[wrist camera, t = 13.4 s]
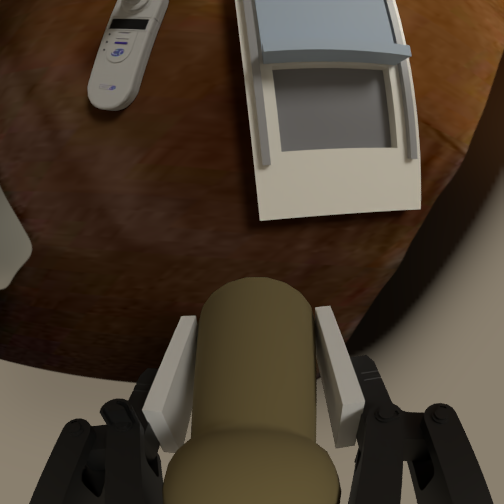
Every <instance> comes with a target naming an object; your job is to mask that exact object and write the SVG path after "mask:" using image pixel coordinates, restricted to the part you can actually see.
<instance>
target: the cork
mask: <svg viewBox="0 0 504 504" xmlns="http://www.w3.org/2000/svg"><path fill="white" fill-rule="evenodd" d="M162 495H163V504H340V497H341V488H340V483H339V478H338V474H337V471H336V468H335V466H334V464H333V462H332V460H331V458H330V456H329V455H328V453H327V451H325V450H324V449H323V448H322V447H320V446H319V445H318V444H316V334H315V319H314V316H313V312H312V309H311V306H310V305H309V303H308V302H307V301H306V299H305V298H304V297H303V296H302V294H301V293H300V292H298V291H297V290H295V289H294V288H292V287H291V286H289V285H288V284H286V283H284V282H281V281H277V280H274V279H270V278H267V277H250V278H243V279H239V280H236V281H233V282H230V283H227V284H225V285H224V286H222V287H221V288H220V289H218V290H217V291H215V292H214V293H212V295H211V296H210V297H209V299H208V300H207V302H206V303H205V304H204V306H203V307H202V311H201V315H200V319H199V325H198V337H197V349H196V362H195V376H194V391H193V407H192V426H191V439H190V440H189V441H187V442H186V443H185V444H184V445H182V446H181V447H180V448H179V449H178V450H177V451H176V453H175V454H174V456H173V457H172V459H171V461H170V462H169V464H168V467H167V471H166V475H165V479H164V483H163V487H162Z"/></svg>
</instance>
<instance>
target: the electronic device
mask: <svg viewBox="0 0 504 504" xmlns="http://www.w3.org/2000/svg"><path fill="white" fill-rule="evenodd" d="M168 2H169V0H117V3H116V5H115V7H114V10H113V12H112V14H111V18H110V20H109V22H108V25H107V28H106V31H105V33H104V36H103V38H102V41H101V44H100V47H99V50H98V53H97V56H96V59H95V63H94V66H93V69H92V73H91V76H90V80H89V83H88V97H89V100H90V102H91V103H92V104H93V105H94V106H95V107H96V108H99V109H103V110H111V111H117V110H121V109H124V108H126V107H127V106H128V105H130V104H131V103H132V102H133V100H134V99H135V97H136V96H137V94H138V91H139V88H140V84H141V81H142V78H143V74H144V71H145V68H146V65H147V61H148V58H149V55H150V52H151V49H152V46H153V44H154V41H155V38H156V35H157V32H158V30H159V27H160V24H161V22H162V19H163V17H164V14H165V12H166V9H167V6H168Z"/></svg>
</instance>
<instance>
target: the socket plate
mask: <svg viewBox="0 0 504 504" xmlns="http://www.w3.org/2000/svg"><path fill="white" fill-rule="evenodd" d="M384 4H385V8H386V12H387V16H388V20H389V24H390V28H391V32H392V37H393V42H394V44H402V45H406V42H405V37H404V33H403V29H402V24H401V20H400V16H399V13H398V9H397V5H396V2H395V0H384ZM235 5H236V13H237V21H238V29H239V37H240V46H241V54H242V62H243V71H244V80H245V88H246V97H247V106H248V115H249V124H250V133H251V142H252V151H253V160H254V169H255V179H256V188H257V198H258V207H259V217H260V221H265V220H275V219H287V218H298V217H310V216H323V215H336V214H350V213H364V212H379V211H395V210H413V209H421V168H420V146H419V132H418V120H417V110H416V102H415V94H414V87H413V80H412V74H411V68H410V62H409V58H407V59H405V60H403V61H401V62H400V63H398V64H396V65H388V64H376V63H361V62H287V63H271V64H263V56H262V49H261V41H260V34H259V27H258V19H257V12H256V6H255V0H235Z"/></svg>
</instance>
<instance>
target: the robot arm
mask: <svg viewBox="0 0 504 504" xmlns="http://www.w3.org/2000/svg"><path fill="white" fill-rule="evenodd" d="M315 334H316V357H317V362H318V366H319V371H320V375H321V379H322V384H323V389H324V393H325V398H326V403H327V407H328V412H329V417H330V422H331V427H332V432H333V437H334V442H335V447H336V448H342V447H348V446H354V445H355V442H356V438H357V442H358V445H359V448H358V452H357V455H356V459H355V463H356V464H355V470H354V476H353V481H352V486H351V492H350V497H349V501H348V504H400V500H401V487H402V471H403V461H407V463H408V467H409V470H410V474H411V478H412V482H413V486H414V490H415V494H416V499H417V503H418V504H493V501H492V498H491V495H490V492H489V490H488V487H487V484H486V481H485V479H484V476H483V474H482V471H481V469H480V466H479V464H478V461H477V459H476V456H475V454H474V451H473V449H472V447H471V445H470V442H469V440H468V438H467V436H466V433H465V431H464V429H463V427H462V424H461V422H460V420H459V418H458V416H457V414H456V412H455V411H454V409H453V408H452V407H450V406H449V405H447V404H442V403H438V404H433V405H431V406H429V407H428V408H427V409H426V410H425V413H415V412H413V413H412V412H405V411H402V410H401V409H400V408H399V407H398V406H397V405H395V404H393V403H392V401H391V399H390V397H389V395H388V392H387V390H386V388H385V385H384V383H383V381H382V379H381V376H380V374H379V372H378V369H377V367H376V365H375V363H374V361H373V360H372V359H370V358H369V357H368V356H367V355H364V356H357V357H351V358H350V357H349V354H348V352H347V349H346V346H345V343H344V341H343V338H342V335H341V333H340V330H339V328H338V325H337V322H336V320H335V317H334V315H333V312H332V309H331V307H330V306H325V307H315ZM197 337H198V325H197V320H196V316H181V318H180V321H179V323H178V325H177V328H176V330H175V332H174V334H173V337H172V339H171V341H170V344H169V346H168V348H167V351H166V353H165V355H164V358H163V360H162V363H161V365H160V367H159V369H156V368H147V369H146V370H145V371H144V372H143V373H142V374H141V375H140V377H139V379H138V381H137V385H135V387H134V391H133V392H132V394H131V396H130V398H129V400H128V401H127V400H125V399H113V400H110V401H108V402H107V403H105V404H104V405H103V406H102V408H101V410H100V413H101V415H102V417H103V419H104V421H105V422H106V424H107V425H100V426H91V425H90V424H89V423H88V422H87V421H86V420H84V419H74V420H71V421H70V422H68V423H67V424H66V425H65V426H64V428H63V430H62V432H61V434H60V436H59V438H58V440H57V442H56V444H55V446H54V448H53V450H52V452H51V455H50V457H49V459H48V461H47V463H46V466H45V468H44V470H43V472H42V474H41V477H40V479H39V482H38V484H37V487H36V489H35V491H34V493H33V496H32V498H31V501H30V503H29V504H163V495H162V487H163V478H162V469H161V460H160V457H159V455H158V453H157V452H158V449H159V446H161V448H162V450H163V451H164V452H169V453H176V451H177V450H178V449H179V448H180V447H181V446H182V445H184V441H185V436H186V432H187V428H188V423H189V420H190V415H191V411H192V407H193V391H194V376H195V362H196V349H197Z"/></svg>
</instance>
